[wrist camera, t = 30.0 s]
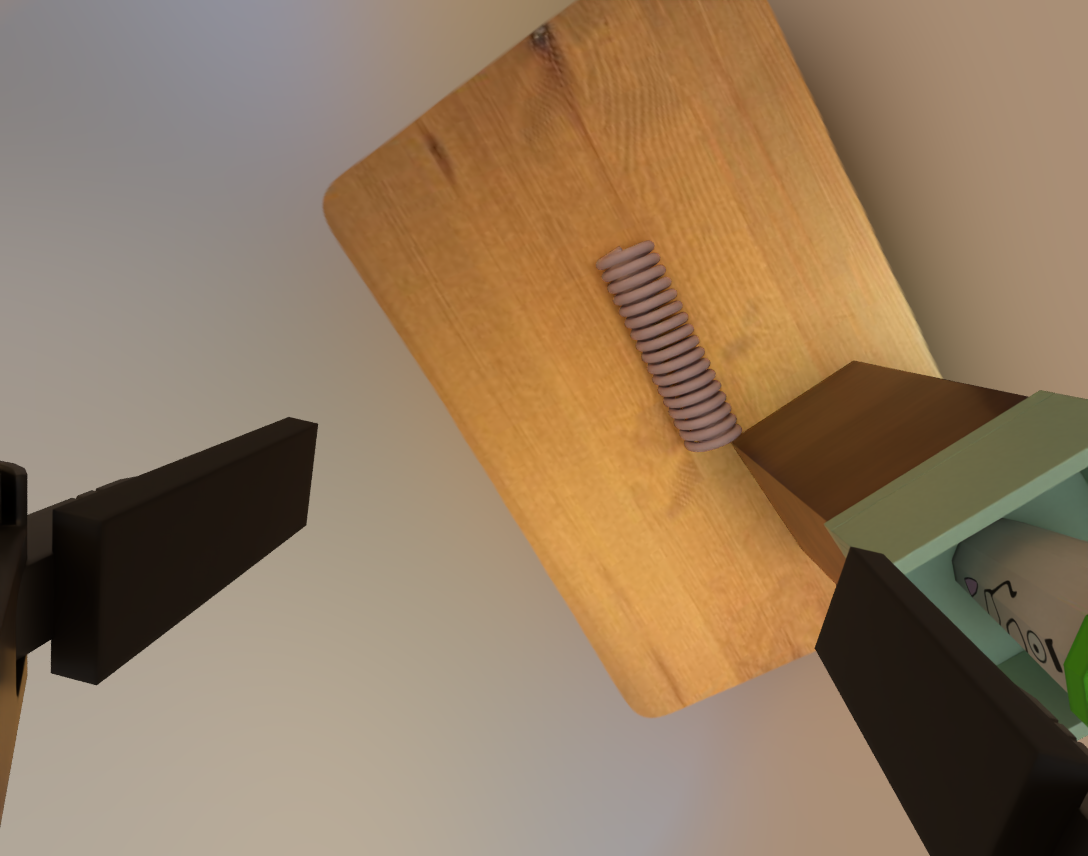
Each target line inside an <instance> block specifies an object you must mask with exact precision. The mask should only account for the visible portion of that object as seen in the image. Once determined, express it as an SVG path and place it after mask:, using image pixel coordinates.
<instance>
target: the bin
mask: <svg viewBox="0 0 1088 856" xmlns="http://www.w3.org/2000/svg"><path fill="white" fill-rule="evenodd" d="M1000 518H1006V519H1010V520H1015V521H1019V522H1023V523H1027V524H1030V525H1033V526H1037V527H1040V528H1044V529H1047V530H1050V531H1054V532H1057V533H1060V534H1064V535H1067V536H1070V537H1074V538H1077V539H1081V540H1084V541H1087V542H1088V399H1083V398H1078V397H1073V396H1068V395H1062V394H1055V393H1053V392H1048V391H1042V390H1040V391H1038V392H1036V393H1035V394H1033V395H1032V396H1030V397H1028V398H1027V399H1025V400H1023V401H1022V402H1020V403H1018V404H1017V405H1015V406H1014V407H1012V408H1010V409H1009V410H1007V411H1005V412H1004V413H1002V414H1001V415H999V416H997V417H996V418H994V419H993V420H991V421H989V422H988V423H986V424H984V425H983V426H981V427H980V428H978V429H976V430H975V431H973V432H971V433H970V434H968V435H967V436H965V437H963V438H962V439H960V440H958V441H957V442H955V443H954V444H952V445H950V446H949V447H947V448H946V449H944V450H942V451H941V452H939V453H937V454H936V455H934V456H933V457H931V458H929V459H928V460H926V461H924V462H923V463H921V464H920V465H918V466H916V467H915V468H913V469H911V470H910V471H908V472H907V473H905V474H903V475H902V476H900V477H899V478H897V479H895V480H894V481H892V482H890V483H889V484H887V485H886V486H884V487H882V488H881V489H879V490H877V491H876V492H874V493H873V494H871V495H869V496H868V497H866V498H864V499H863V500H861V501H860V502H858V503H856V504H855V505H853V506H852V507H850V508H848V509H847V510H845V511H843V512H842V513H840V514H839V515H837V516H835V517H834V518H832V519H830V520H829V521H827V522H826V523H824V526H825V527H826V529H827V530H828V532H829V533H830V535H831V537H832V538H833V540H834V541H835V543H836V544H837V546H838V547H839V549H840V550H841V552H842V553H843V555H844V556H845V558H846V557H847V554H848V552H849V549H850V546H851V547H856V548H860V549H864V550H869V551H873V552H877V553H882V554H884V555H885V556H886V557H887V558H888V559H889V560H890V561H891V562H892V563H893V564H894V565H895V566H896V567H897V568H898V569H899V570H900V571H901V572H902V573H903V574H904V575H905V576H906V577H907V578H908V579H909V580H910V581H911V582H912V583H913V584H914V585H915V586H916V587H917V588H918V589H919V590H920V591H921V592H922V593H923V594H924V595H925V596H926V597H927V598H928V599H929V600H930V601H931V602H933V603H934V604H935V605H936V606H937V607H938V608H939V609H940V610H941V611H942V612H943V613H944V614H945V615H946V616H947V617H948V618H949V619H950V620H951V621H952V622H953V623H954V624H955V625H956V626H957V627H958V628H959V629H960V630H961V631H962V632H963V633H964V634H965V635H966V636H967V637H968V638H969V639H970V640H971V641H972V642H973V643H974V644H975V645H976V646H977V647H978V648H979V649H980V650H981V651H982V652H983V653H984V654H985V655H986V656H987V657H988V658H989V659H990V660H991V661H992V662H993V663H994V664H995V665H996V666H997V667H998V668H999V669H1000V670H1001V671H1002V672H1003V673H1004V674H1005V675H1006V676H1007V677H1008V678H1009V679H1010V680H1011V681H1012V682H1013V683H1014V684H1016V685H1017V686H1019V687H1020V688H1022V689H1023V690H1025V691H1026V692H1027V693H1029V694H1030V695H1032V696H1033V697H1035V698H1036V699H1037V700H1038V701H1039V702H1040V703H1041V704H1042V705H1043V706H1044V707H1046V708H1047V709H1048V710H1049V711H1050V712H1051V713H1052V714H1053V715H1054V716H1055V717H1056V718H1057V719H1058V723H1059V724H1063V725H1064V726H1065V727H1066V728H1067V729H1068V730H1069V731H1070V732H1071V733H1072V734H1073V735H1074V736H1075V737H1076V738H1077V741H1078V740H1079V739H1081V738H1083V737H1085V736H1087V735H1088V727H1087V726H1086V725H1085V724H1084V723H1083V722H1082V721H1081V720H1080V719H1079V718H1078V717H1077V716H1076V715H1075V714H1074V713H1073V712H1072V711H1071V710H1070V705H1069V698H1068V693H1067V692H1066V691H1065V690H1064V689H1063V688H1062V687H1061V686H1060V685H1059V684H1058V683H1057V682H1056V681H1055V680H1054V679H1053V678H1052V677H1051V676H1050V675H1049V674H1048V673H1047V672H1046V671H1045V670H1044V669H1043V668H1042V667H1041V666H1040V665H1039V664H1038V663H1037V662H1036V661H1035V660H1034V659H1033V658H1032V657H1031V656H1030V655H1029V654H1028V653H1027V652H1026V651H1025V650H1024V649H1023V648H1022V647H1021V646H1020V645H1019V644H1018V643H1017V642H1016V641H1015V640H1014V639H1013V638H1012V637H1011V636H1010V635H1009V634H1008V633H1007V632H1006V631H1005V630H1004V629H1003V628H1002V627H1001V626H1000V625H999V624H998V623H997V622H996V621H995V620H994V619H993V618H992V617H991V616H990V615H989V614H988V613H987V612H986V611H985V610H984V609H983V608H982V607H981V606H980V605H979V604H978V603H977V602H976V601H975V600H974V599H973V598H972V597H971V596H970V595H969V594H968V593H967V592H966V591H965V590H964V589H963V588H962V587H961V586H960V585H959V584H958V583H957V582H956V581H955V576H954V570H953V565H952V558H953V556H954V553H955V550H956V548H957V545H958V543H960V542H961V541H963V540H965V539H966V538H968V537H970V536H972V535H973V534H975V533H977V532H978V531H980V530H982V529H983V528H985V527H987V526H988V525H990V524H992V523H993V522H995V521H997V520H999V519H1000Z"/></svg>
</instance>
